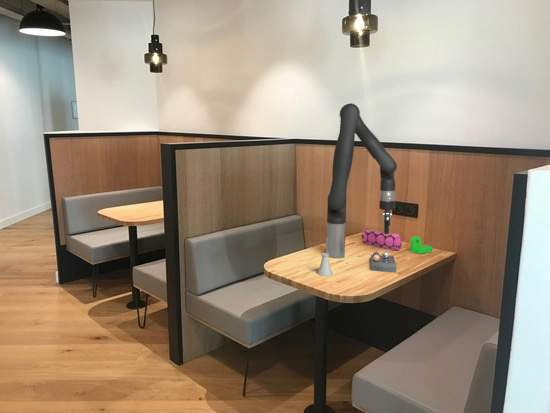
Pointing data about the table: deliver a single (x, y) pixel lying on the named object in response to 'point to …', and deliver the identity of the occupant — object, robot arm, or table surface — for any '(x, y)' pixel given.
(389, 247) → the pencil case
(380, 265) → the grey ball holder tray
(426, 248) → the mechanical part
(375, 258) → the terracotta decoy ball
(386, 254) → the steel ball
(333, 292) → the table surface
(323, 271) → the flask
